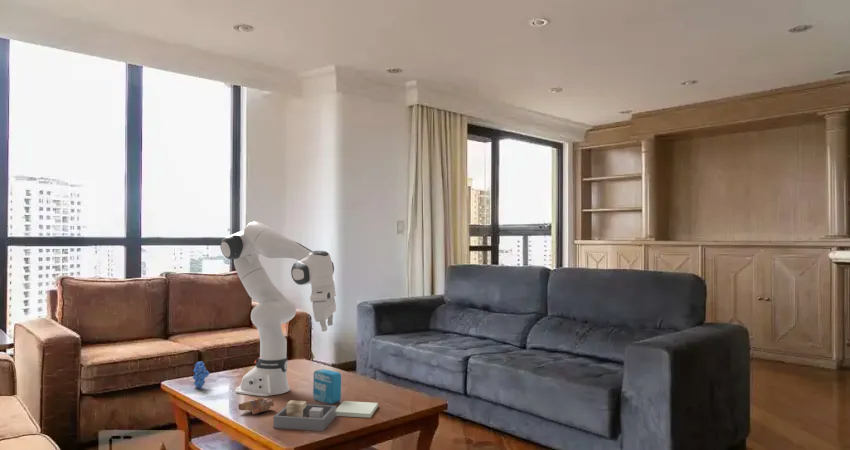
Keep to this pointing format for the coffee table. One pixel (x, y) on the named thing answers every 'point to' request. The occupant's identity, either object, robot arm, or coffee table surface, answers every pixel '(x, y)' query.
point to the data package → (327, 386)
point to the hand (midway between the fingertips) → (327, 328)
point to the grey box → (316, 412)
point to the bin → (305, 419)
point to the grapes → (200, 374)
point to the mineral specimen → (256, 405)
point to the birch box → (296, 408)
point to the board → (356, 409)
